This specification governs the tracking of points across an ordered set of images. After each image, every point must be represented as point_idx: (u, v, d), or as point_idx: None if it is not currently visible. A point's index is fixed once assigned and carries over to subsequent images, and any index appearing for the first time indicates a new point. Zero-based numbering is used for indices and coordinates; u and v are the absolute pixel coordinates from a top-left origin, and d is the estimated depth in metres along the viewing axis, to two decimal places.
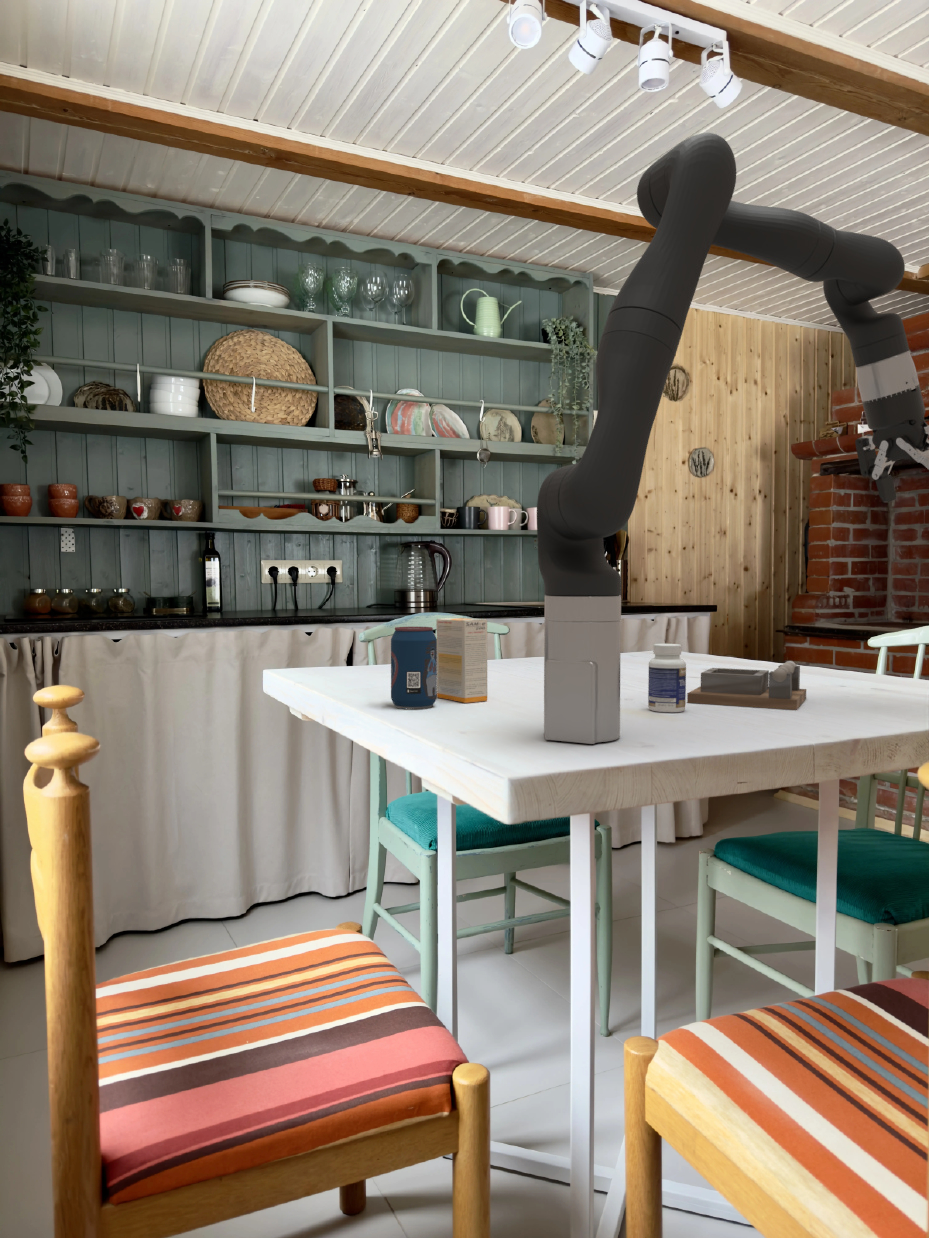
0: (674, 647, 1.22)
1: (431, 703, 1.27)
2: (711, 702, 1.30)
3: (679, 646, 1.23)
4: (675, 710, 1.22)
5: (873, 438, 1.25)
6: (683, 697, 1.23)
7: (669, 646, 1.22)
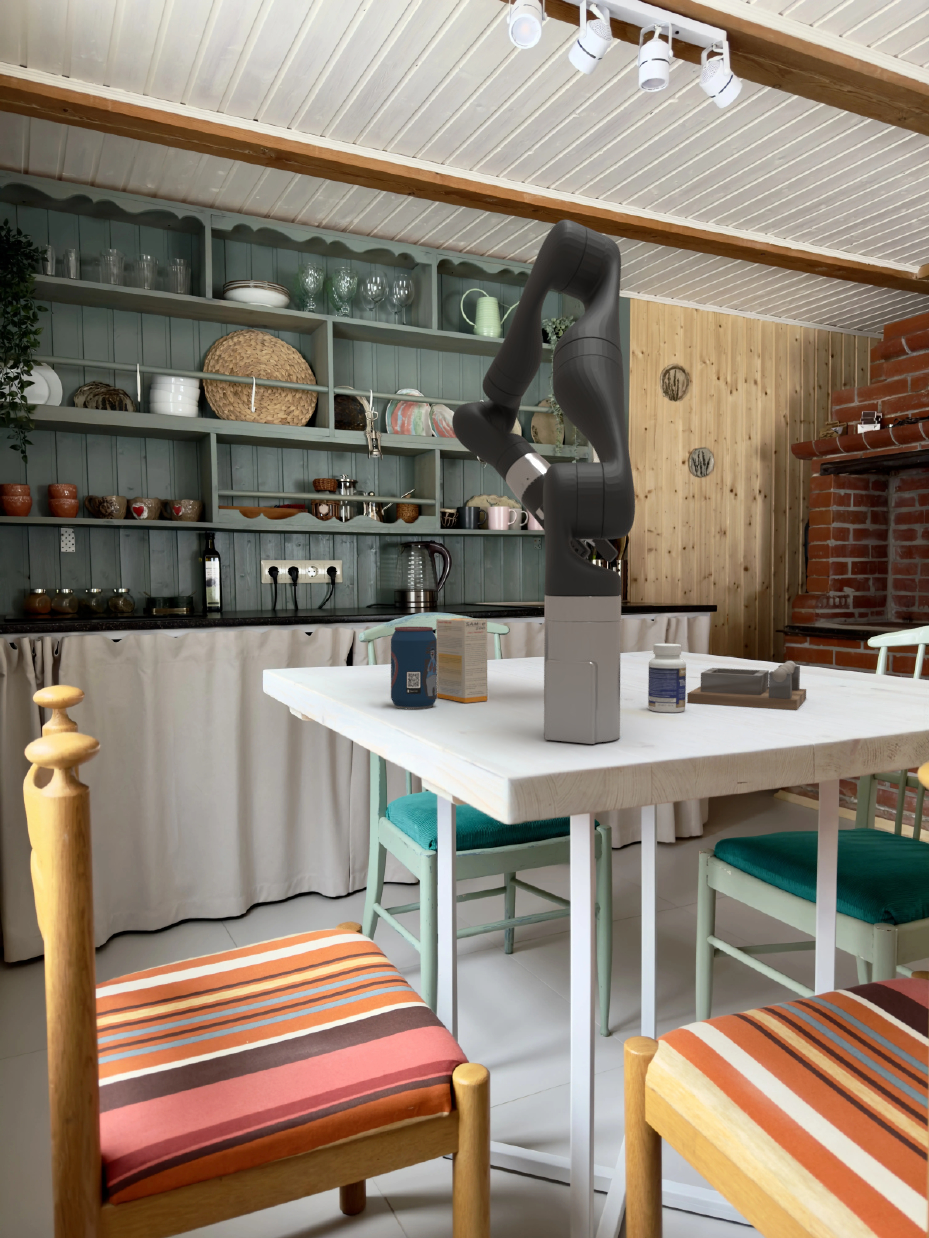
0: (674, 647, 1.22)
1: (431, 703, 1.27)
2: (711, 702, 1.30)
3: (679, 646, 1.23)
4: (675, 710, 1.22)
5: None
6: (683, 697, 1.23)
7: (669, 646, 1.22)
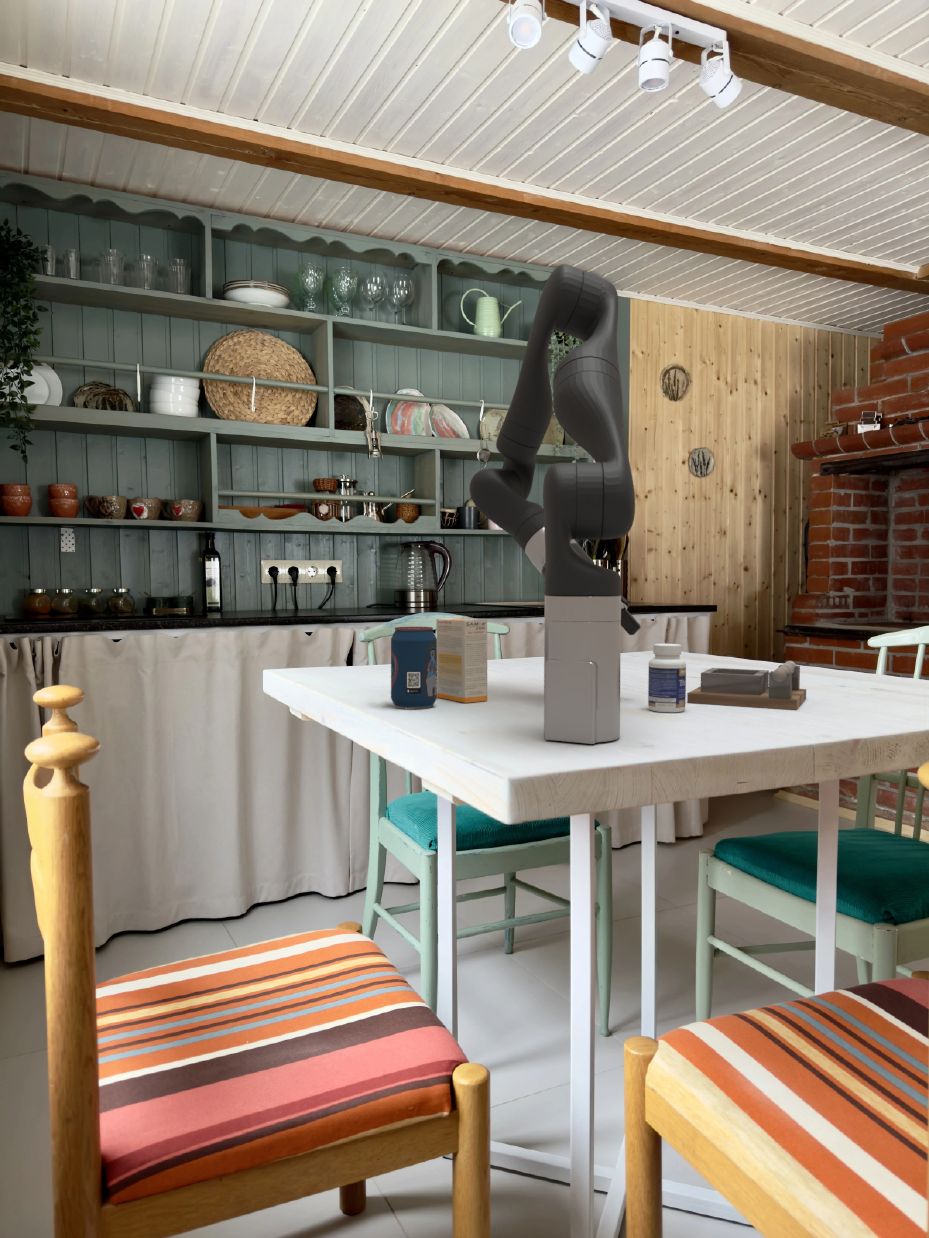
0: (674, 647, 1.22)
1: (431, 703, 1.27)
2: (711, 702, 1.30)
3: (679, 646, 1.23)
4: (675, 710, 1.22)
5: None
6: (683, 697, 1.23)
7: (669, 646, 1.22)
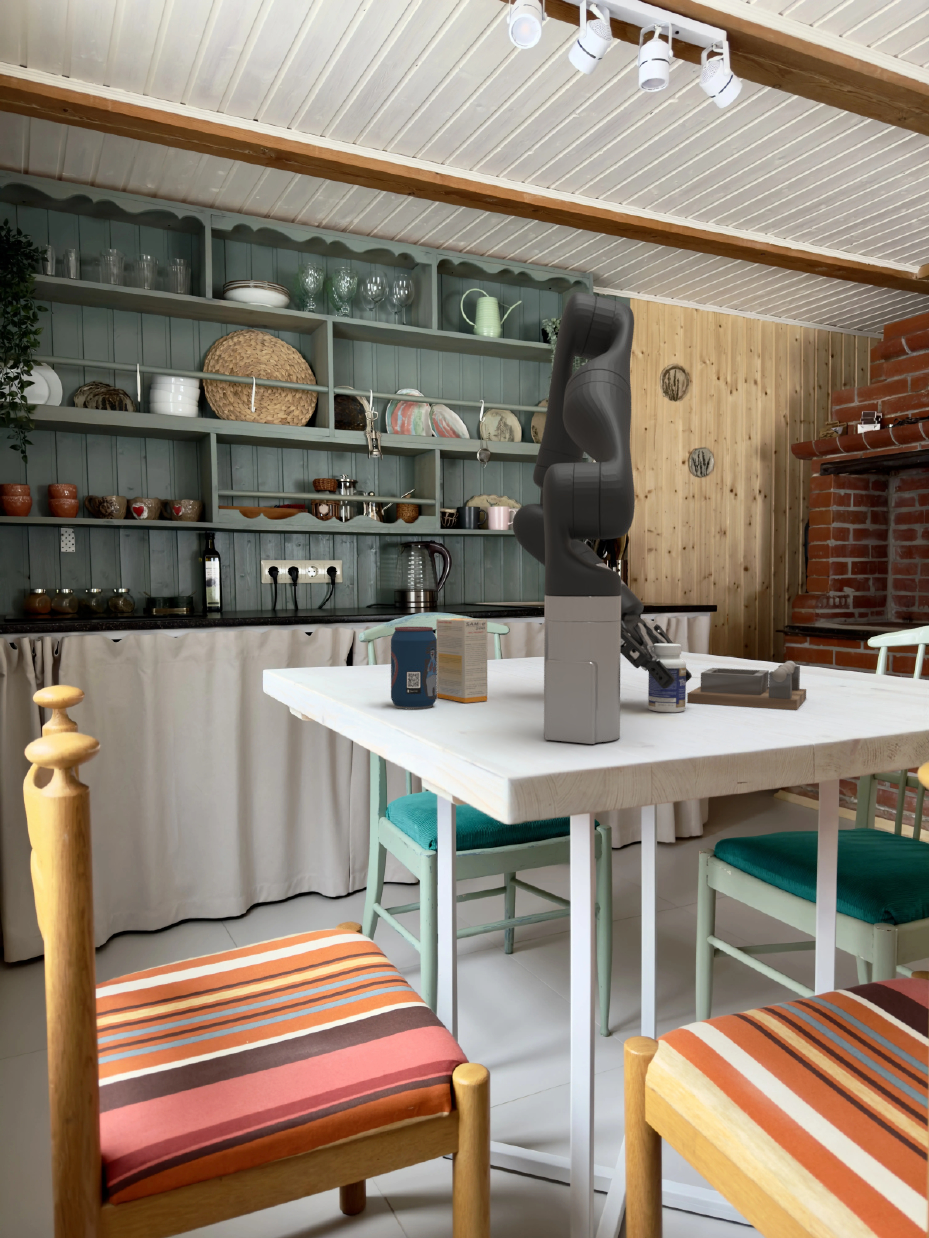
0: (674, 647, 1.22)
1: (431, 703, 1.27)
2: (711, 702, 1.30)
3: (679, 646, 1.23)
4: (675, 710, 1.22)
5: (625, 626, 1.24)
6: (683, 697, 1.23)
7: (669, 646, 1.22)
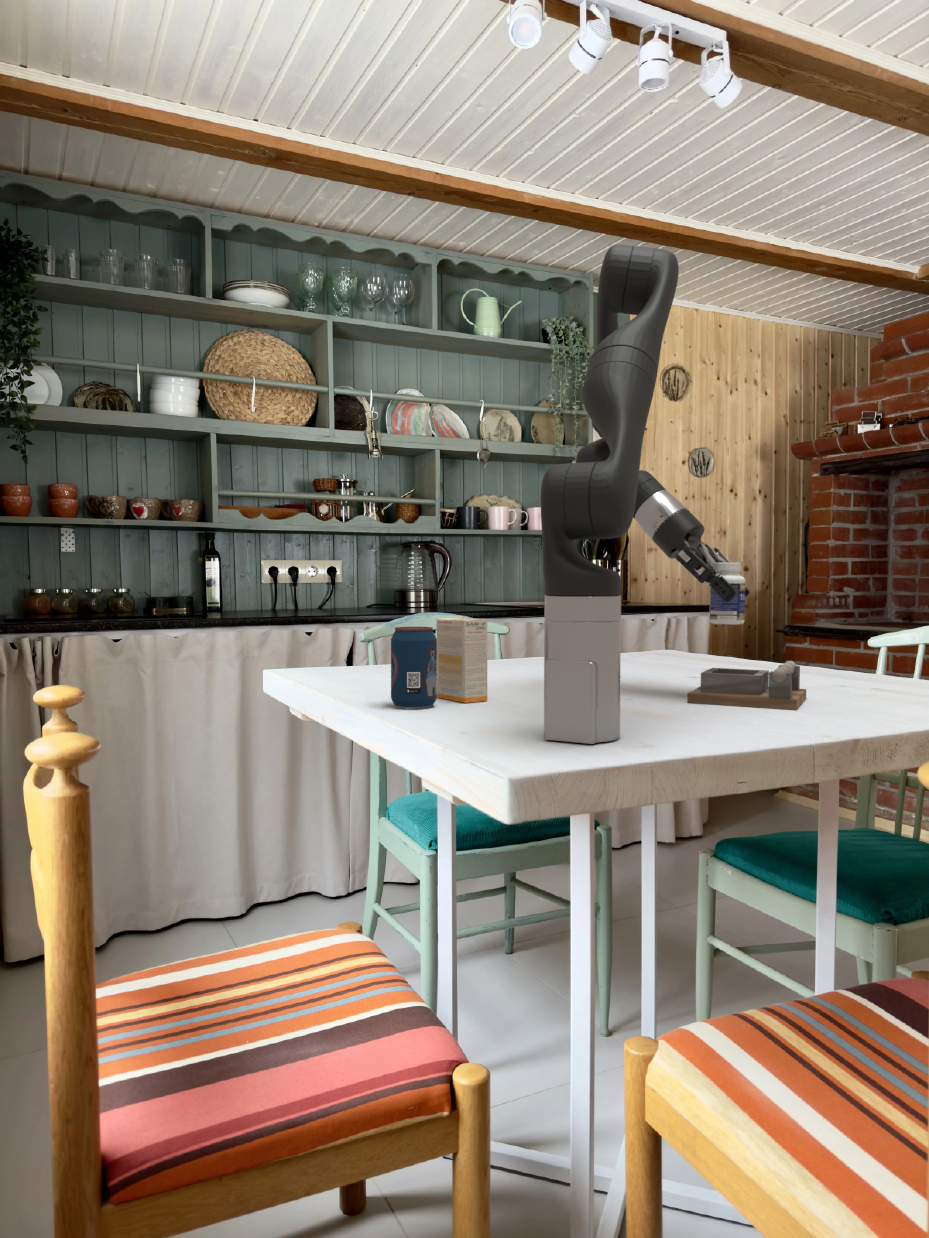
0: (735, 564, 1.32)
1: (431, 703, 1.27)
2: (711, 702, 1.30)
3: (739, 563, 1.32)
4: (736, 622, 1.32)
5: (690, 545, 1.34)
6: (743, 610, 1.32)
7: (730, 563, 1.32)
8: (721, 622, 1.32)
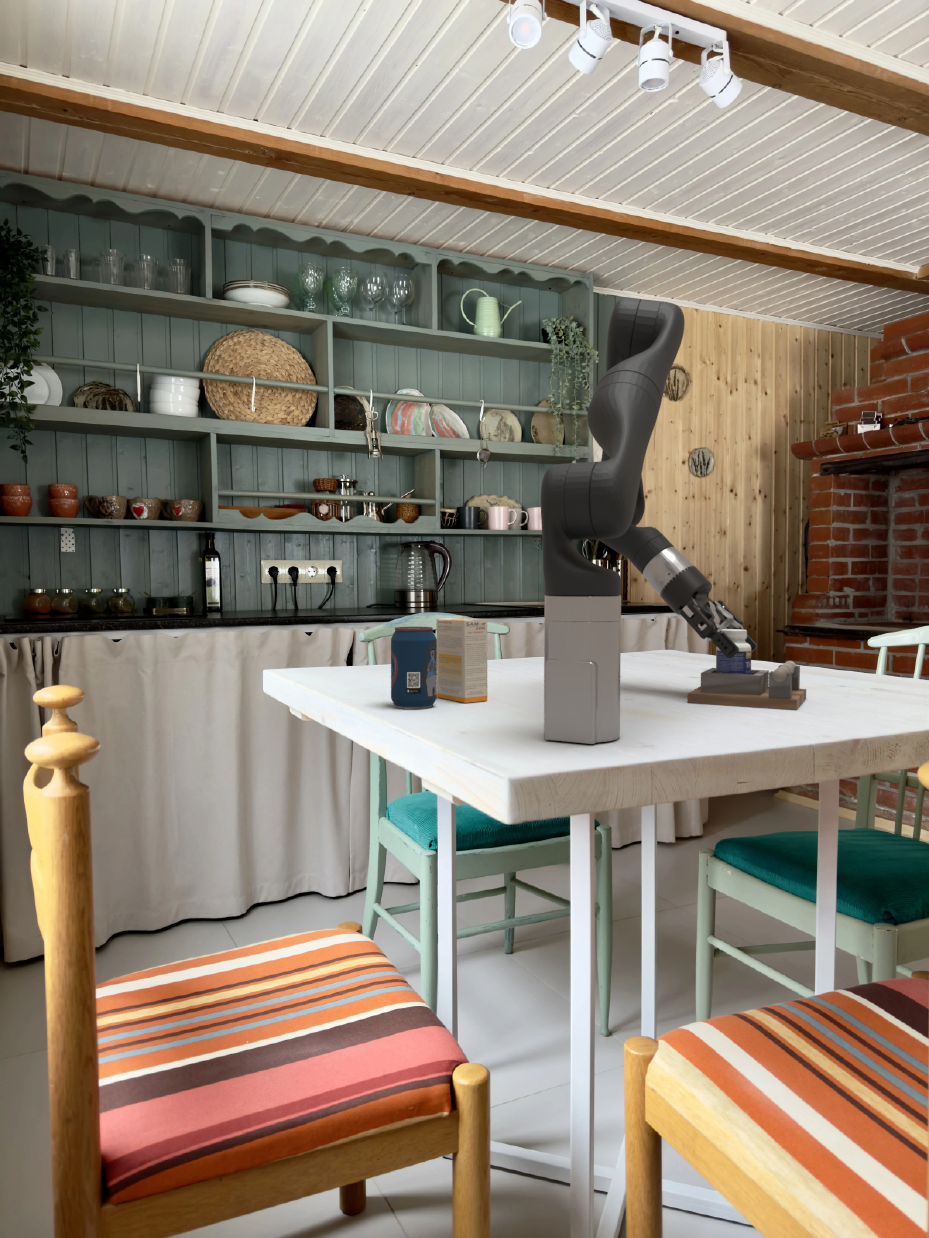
0: (741, 632, 1.33)
1: (431, 703, 1.27)
2: (711, 702, 1.30)
3: (745, 631, 1.34)
4: None
5: (697, 603, 1.35)
6: None
7: (736, 631, 1.33)
8: None
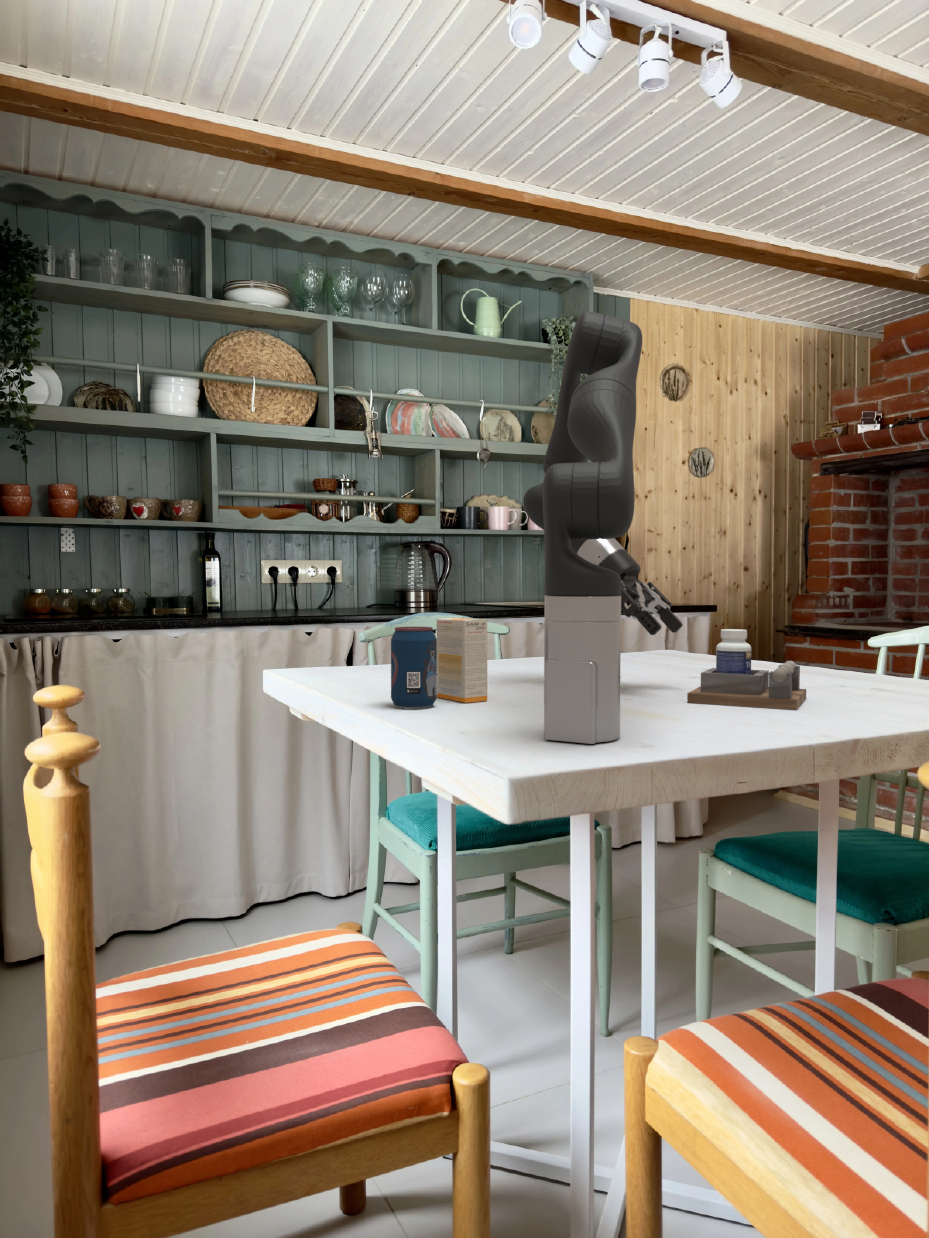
0: (741, 632, 1.33)
1: (431, 703, 1.27)
2: (711, 702, 1.30)
3: (745, 631, 1.34)
4: None
5: (624, 583, 1.43)
6: None
7: (736, 631, 1.33)
8: None
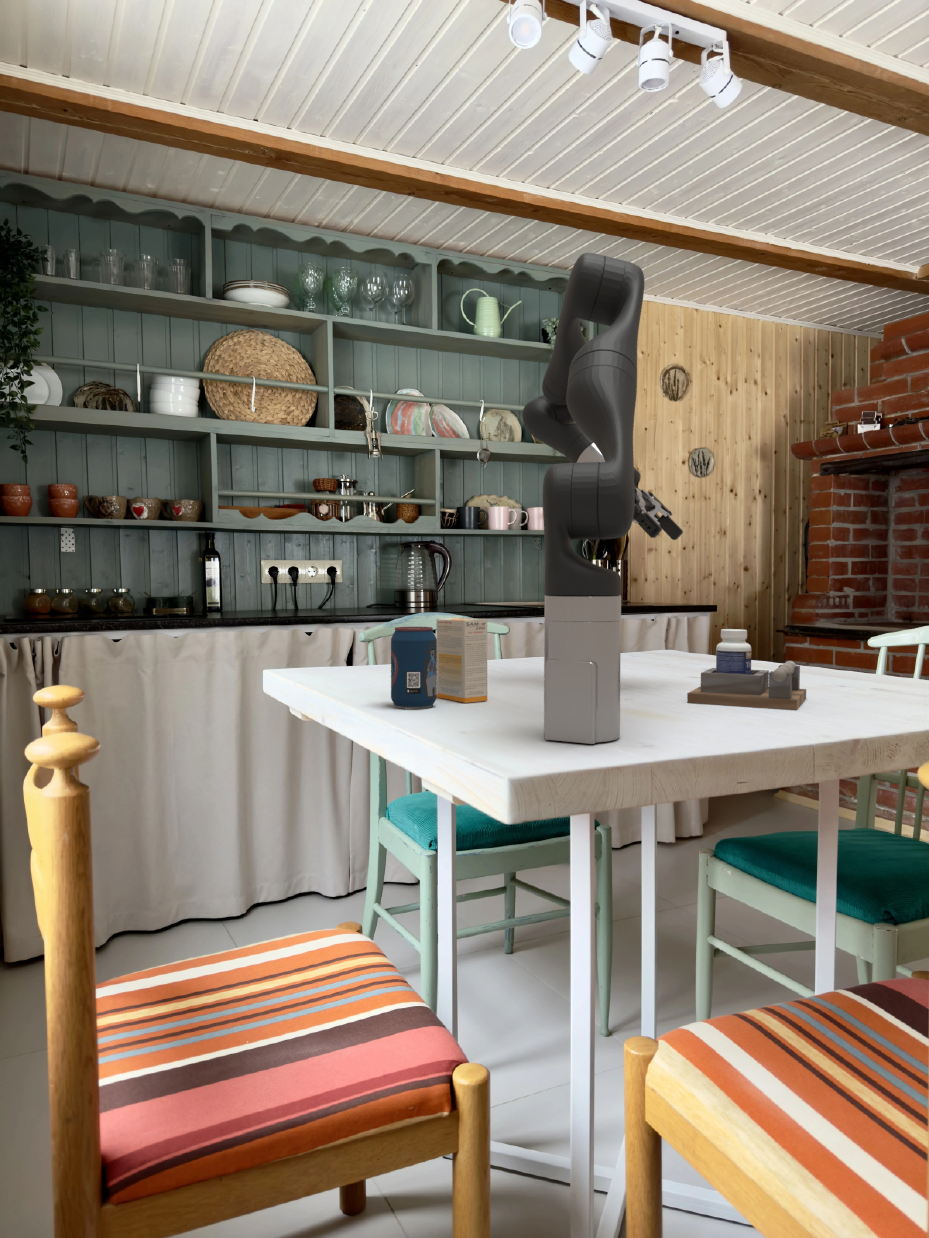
0: (741, 632, 1.33)
1: (431, 703, 1.27)
2: (711, 702, 1.30)
3: (745, 631, 1.34)
4: None
5: None
6: None
7: (736, 631, 1.33)
8: None
